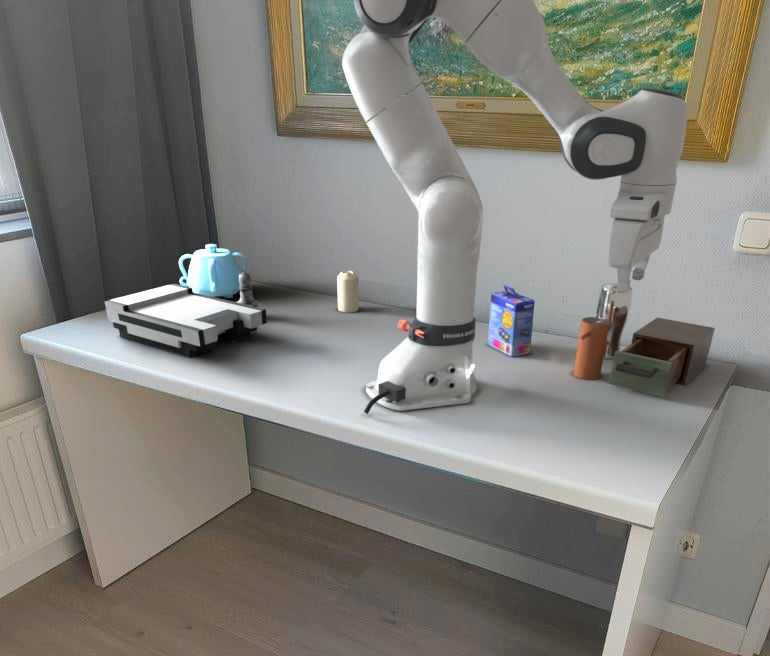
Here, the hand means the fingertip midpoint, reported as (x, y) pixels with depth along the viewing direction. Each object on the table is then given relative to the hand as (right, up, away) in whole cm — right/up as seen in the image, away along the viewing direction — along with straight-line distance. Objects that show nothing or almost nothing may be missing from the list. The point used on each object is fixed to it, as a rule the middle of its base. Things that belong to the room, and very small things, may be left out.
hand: (630, 285), depth 127 cm
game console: (-91, +1, +44) cm, 101 cm away
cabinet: (+17, -9, +27) cm, 34 cm away
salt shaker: (-79, +10, +59) cm, 99 cm away
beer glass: (+6, -5, +35) cm, 36 cm away
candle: (-54, +14, +65) cm, 85 cm away
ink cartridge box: (-15, -3, +38) cm, 41 cm away
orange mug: (-2, -12, +23) cm, 26 cm away
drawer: (+9, -14, +17) cm, 24 cm away
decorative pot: (-92, +22, +77) cm, 122 cm away
